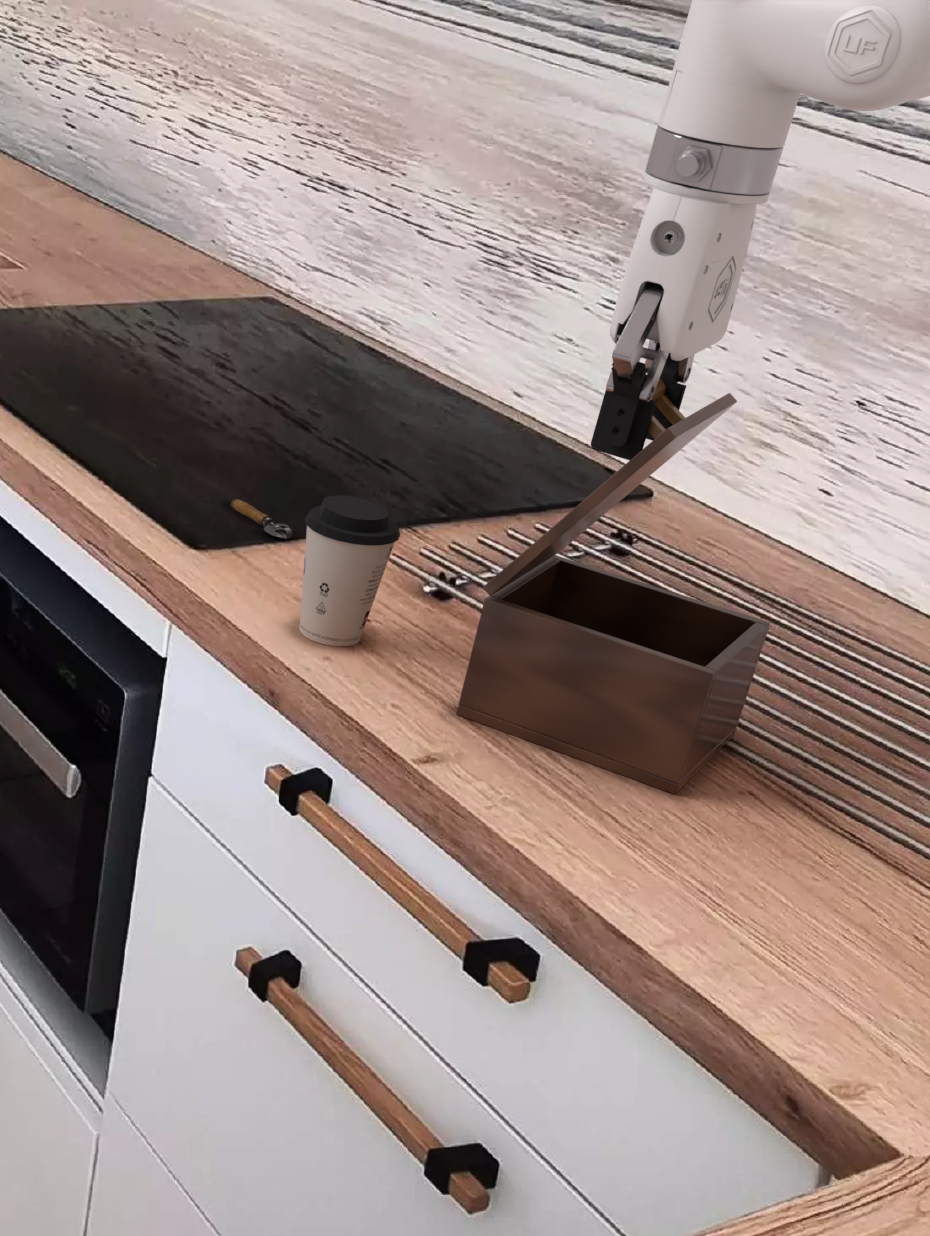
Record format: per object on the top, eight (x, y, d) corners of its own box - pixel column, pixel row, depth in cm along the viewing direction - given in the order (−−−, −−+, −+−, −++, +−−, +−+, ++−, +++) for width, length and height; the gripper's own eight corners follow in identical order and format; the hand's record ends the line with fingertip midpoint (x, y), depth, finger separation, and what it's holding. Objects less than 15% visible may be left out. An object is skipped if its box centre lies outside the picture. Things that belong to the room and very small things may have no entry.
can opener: (228, 510, 173) (230, 497, 173) (251, 510, 174) (254, 497, 173) (276, 543, 165) (279, 529, 165) (301, 543, 166) (304, 530, 166)
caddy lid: (737, 401, 132) (689, 347, 133) (676, 437, 123) (624, 380, 124) (559, 552, 143) (515, 502, 144) (489, 596, 134) (443, 542, 135)
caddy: (733, 736, 140) (770, 622, 136) (675, 794, 130) (713, 673, 126) (524, 664, 148) (553, 554, 143) (455, 714, 138) (484, 598, 134)
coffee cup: (395, 648, 148) (424, 522, 143) (319, 657, 145) (346, 528, 140) (339, 611, 153) (365, 488, 149) (265, 619, 150) (289, 494, 146)
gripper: (728, 194, 115) (640, 489, 123) (810, 166, 127) (725, 437, 136) (604, 166, 119) (527, 455, 127) (695, 142, 131) (619, 406, 140)
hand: (630, 442), depth 131 cm, fingers closed on caddy lid, 5 cm apart
